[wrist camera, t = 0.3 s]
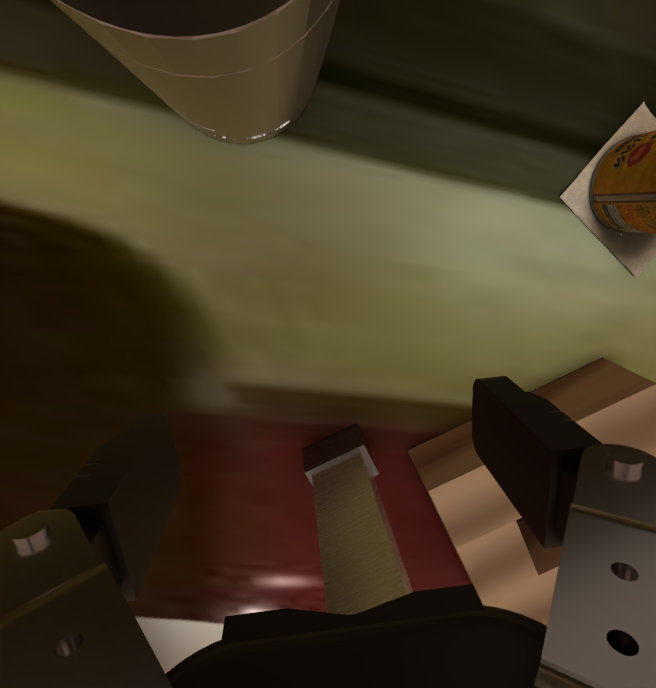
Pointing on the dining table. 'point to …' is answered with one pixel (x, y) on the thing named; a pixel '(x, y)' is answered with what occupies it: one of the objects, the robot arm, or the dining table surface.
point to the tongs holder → (497, 510)
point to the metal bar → (353, 526)
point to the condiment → (622, 192)
